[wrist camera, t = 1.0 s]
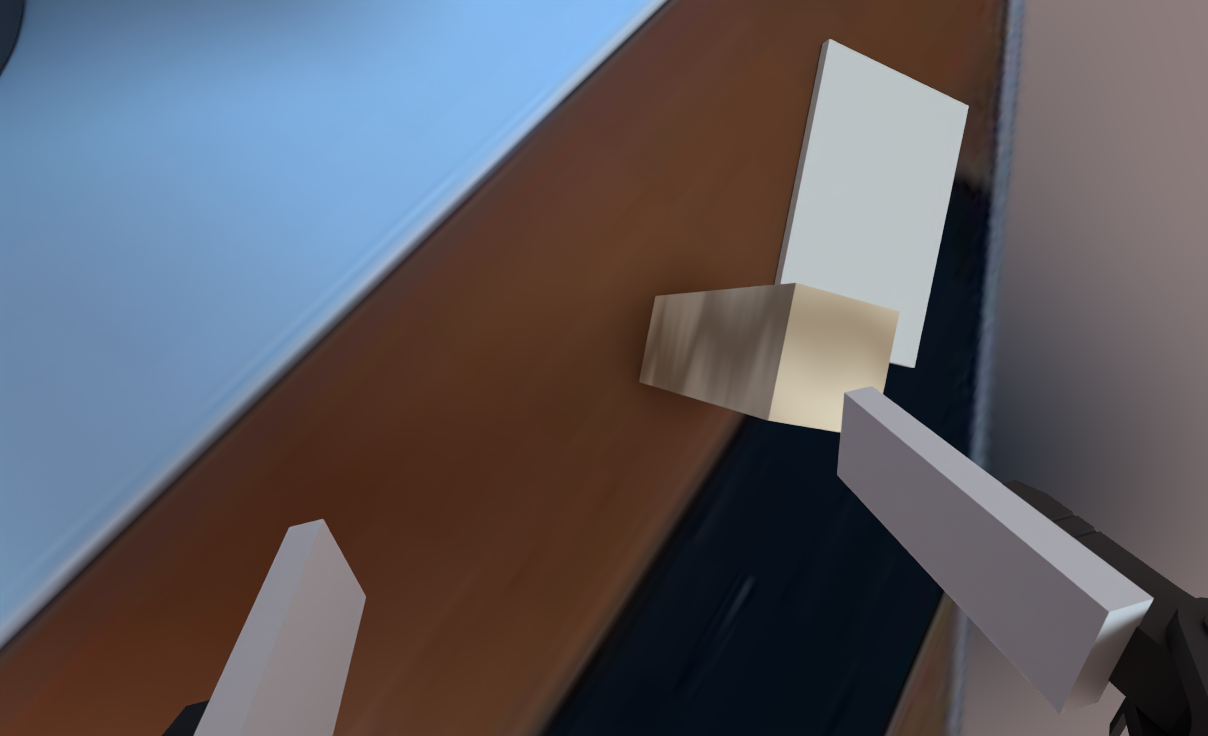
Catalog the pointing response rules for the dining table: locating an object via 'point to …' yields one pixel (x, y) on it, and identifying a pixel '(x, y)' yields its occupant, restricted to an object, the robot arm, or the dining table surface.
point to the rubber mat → (872, 189)
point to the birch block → (769, 350)
